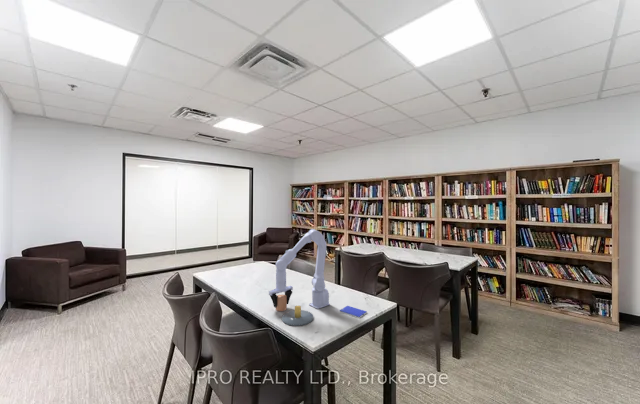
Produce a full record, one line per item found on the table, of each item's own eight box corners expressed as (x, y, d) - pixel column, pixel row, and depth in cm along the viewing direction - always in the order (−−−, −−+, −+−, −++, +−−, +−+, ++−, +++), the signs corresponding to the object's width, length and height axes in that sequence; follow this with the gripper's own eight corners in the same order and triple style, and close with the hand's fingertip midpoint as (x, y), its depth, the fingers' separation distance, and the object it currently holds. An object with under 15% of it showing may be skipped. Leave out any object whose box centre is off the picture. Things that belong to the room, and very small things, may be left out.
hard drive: (339, 310, 140) (359, 316, 132) (347, 305, 146) (367, 311, 139) (339, 312, 140) (359, 319, 132) (347, 308, 146) (367, 313, 139)
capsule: (298, 314, 135) (298, 305, 135) (302, 316, 132) (302, 306, 132) (293, 316, 133) (293, 306, 133) (297, 318, 130) (297, 308, 130)
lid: (301, 309, 144) (301, 307, 144) (319, 319, 132) (319, 317, 132) (276, 317, 133) (276, 315, 133) (293, 329, 121) (293, 327, 121)
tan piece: (283, 305, 149) (282, 293, 149) (288, 309, 144) (288, 296, 144) (273, 308, 145) (273, 296, 145) (279, 312, 140) (279, 299, 141)
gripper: (273, 285, 137) (273, 310, 137) (295, 280, 146) (295, 304, 146) (266, 282, 142) (267, 306, 142) (288, 277, 152) (289, 300, 152)
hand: (281, 305), depth 145 cm, fingers open, 7 cm apart
